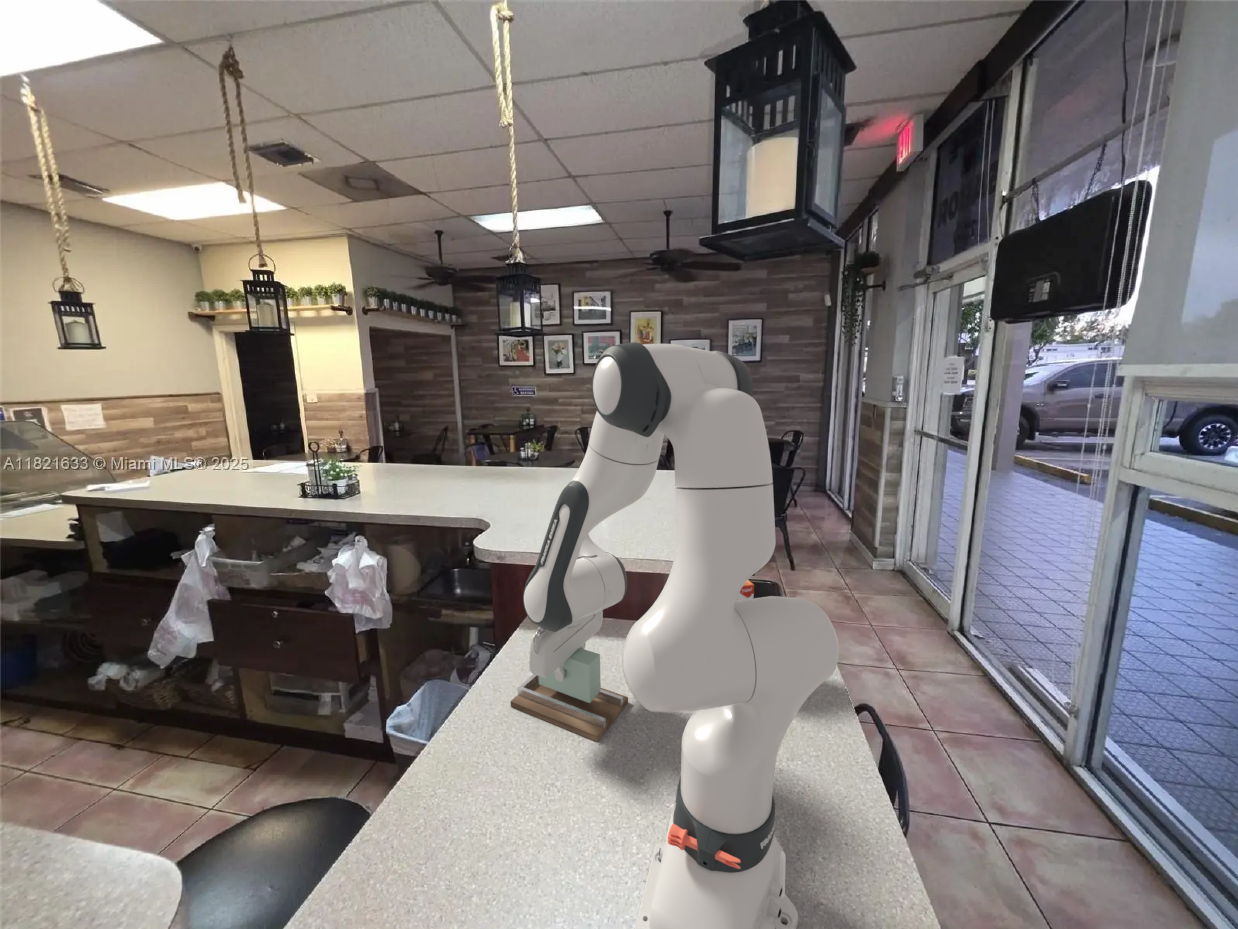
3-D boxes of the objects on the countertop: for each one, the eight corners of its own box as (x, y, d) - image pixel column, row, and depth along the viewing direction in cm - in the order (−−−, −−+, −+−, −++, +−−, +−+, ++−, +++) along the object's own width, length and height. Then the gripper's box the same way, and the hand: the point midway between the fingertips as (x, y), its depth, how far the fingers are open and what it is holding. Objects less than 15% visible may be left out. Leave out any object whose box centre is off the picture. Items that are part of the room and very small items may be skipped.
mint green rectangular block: (589, 703, 93) (589, 665, 92) (538, 684, 99) (537, 648, 97) (600, 691, 97) (600, 654, 95) (550, 673, 102) (549, 638, 101)
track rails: (603, 728, 90) (603, 721, 90) (517, 694, 100) (517, 688, 99) (623, 703, 97) (622, 696, 96) (540, 674, 106) (540, 668, 106)
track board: (597, 742, 89) (597, 736, 88) (510, 706, 98) (510, 701, 98) (628, 702, 99) (628, 697, 99) (547, 674, 108) (546, 669, 108)
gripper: (548, 636, 84) (550, 708, 87) (607, 589, 102) (608, 650, 104) (518, 627, 87) (522, 697, 90) (582, 582, 105) (583, 642, 107)
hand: (569, 671), depth 97 cm, fingers closed on mint green rectangular block, 4 cm apart
